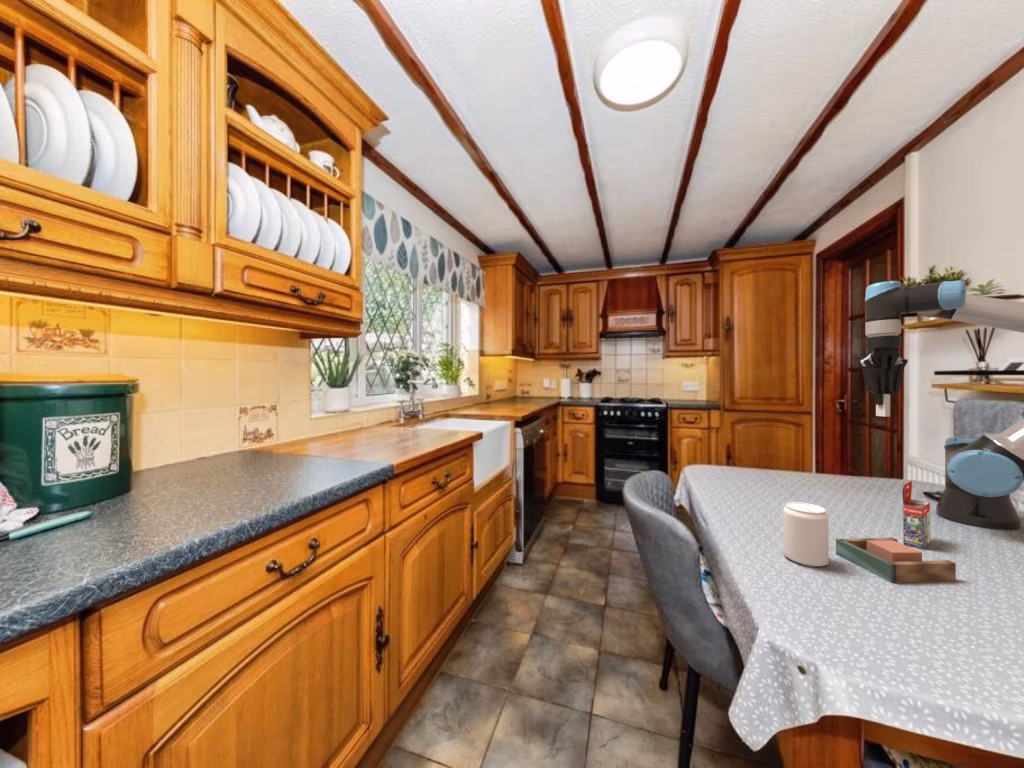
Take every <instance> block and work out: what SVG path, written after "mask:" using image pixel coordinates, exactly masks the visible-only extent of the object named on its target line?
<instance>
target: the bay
mask: <svg viewBox="0 0 1024 768" xmlns="http://www.w3.org/2000/svg"><path fill="white" fill-rule="evenodd" d="M879 540H894V541H896V542H898V539H896V538H894V537H868V538H867V537H866V538H865V537H864V538H863V537H861V538H835V555H836V556H839V557H840V558H843V559H845V560H846V561H848V562H850V563H853V564H854V565H856V566H858V567H860V568H862V569H864V570H866V571H868V572H870V573H871V574H874V575H875V576H877V577H879V578H882V579H883V580H884V581H887V582H889V583H911V582H913V583H915V582H919V583H920V582H943V581H944V582H949V581H950V582H951V581H953V582H954V581H956V580H957V577H956V574H957V569H956V567H957V566H956V562H954V561H951V560H922V561H907V562H889V561H887V560H885V559H883V558H881V557H878V556H876V555H874V554H872V553H870V552H868V551H867V541H879Z"/></svg>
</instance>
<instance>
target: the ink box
mask: <svg viewBox="0 0 1024 768" xmlns="http://www.w3.org/2000/svg"><path fill="white" fill-rule="evenodd" d="M912 490H913V481H912V480H909V481H908V482H906V483H905V484H903V485H902V492H901V494H902V544H903V545H906V546H908V547H909V546H910V547H911V548H913V547H914V548H917V549H921V550H924V549H925V548H926V547H927V546H928V545H929V544H930V542H931V538H932V535H931V502H929V501H924V500H923V501H922V500H919V499H912Z"/></svg>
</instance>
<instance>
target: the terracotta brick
mask: <svg viewBox="0 0 1024 768" xmlns="http://www.w3.org/2000/svg"><path fill="white" fill-rule="evenodd" d="M867 551H868V552H870V553H872V554H874V555H876V556H878V557H881V558H883V559H885V560H887V561H889V562H907V561H923V553H922V551H919V550H917V549H915V548H913V547H911V546H910V547H909V546H908V545H905V544H903V543H901V542H896V541H894V540H879V541H867Z"/></svg>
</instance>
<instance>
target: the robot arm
mask: <svg viewBox="0 0 1024 768" xmlns="http://www.w3.org/2000/svg"><path fill="white" fill-rule="evenodd" d="M915 313H916V314H918V315H919V316H921V317H924V318H925V317H926V318H938V319H942V320H943V319H944V320H949V321H955V322H961V323H967V324H972V325H978V326H984V327H989V328H996V329H1001V330H1006V331H1012V332H1017V333H1021V334H1024V301H1023V302H1022V301H1016V300H1011V299H1010V300H1009V299H1004V298H1003V299H1002V298H995V297H988V296H984V295H983V296H981V295H975V294H968V293H967V287H966V282H965V281H964V280H960V279H959V280H951V281H950V280H949V281H948V280H944V281H941V282H940V281H939V282H933V283H927V284H920V285H912V286H902V283H901V281H898V280H889V281H881V282H875V283H872V284H870V285H868V286H866V289H865V297H864V314H865V315H864V317H865V318H864V319H865V324H864V325H865V326H864V327H865V329H864V330H865V332H864V333H865V336H866V338H865V340H864V341H865V342H864V344H865V346H864V347H865V349H866V350H867V353H866V357H864V358H863V359H858V362H857V363H858V365H859V366H860V368H861V372H862V375H863V380H864V384H865V388H866V391H867V392H869V393H870V394H872V395H874V398H873V399H874V402H873V403H874V405H875V416H876V417H884V418H885V417H888V418H889V417H891V405H892V404H893V402H892V395H895V394H896V393H897V392H899V391H900V387H901V384H902V378H903V375H904V370H905V367H906V365H907V364H908V361H909V360H908V359H907V358H902V357H900V353H899V349H901V348H902V337H901V336H900V334H901V333H902V315H903V314H915ZM944 442H945V444H944V446H943V448H944V459H945V460H944V461H945V462H944V463H945V464H944V466H945V467H944V477H945V478H944V483H945V484H944V485H945V486H944V490H943V492H942V494H941V496H940V498H939V499H938V502H937V503H936V511H935V512H936V515H938V516H940V517H941V518H944V519H946V520H950V521H953V522H957V523H961V524H965V525H970V526H974V527H981V528H987V529H995V530H1003V531H1004V530H1005V531H1006V530H1007V531H1008V530H1009V531H1013V530H1015V531H1016V530H1019V529H1021V528H1022V527H1021V526H1022V522H1021V521H1022V520H1021V517H1020V516H1019V515H1018V512H1017V510H1016V508H1015V505H1014V504H1013V501H1012V499H1011V494H1012V493H1014V492H1016V491H1017V490H1019V488H1020V487H1021V486H1022V485H1023V483H1024V418H1022V419H1020V420H1019V421H1017V422H1016V423H1015V424H1013V425H1011V426H1009V427H1007V428H1006V429H1005V430H1003V431H1002V432H1000V433H984V434H983V435H982V436H980V437H979V438H969V437H968V438H967V437H966V438H964V437H947V438H946V439H945V441H944Z"/></svg>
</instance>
